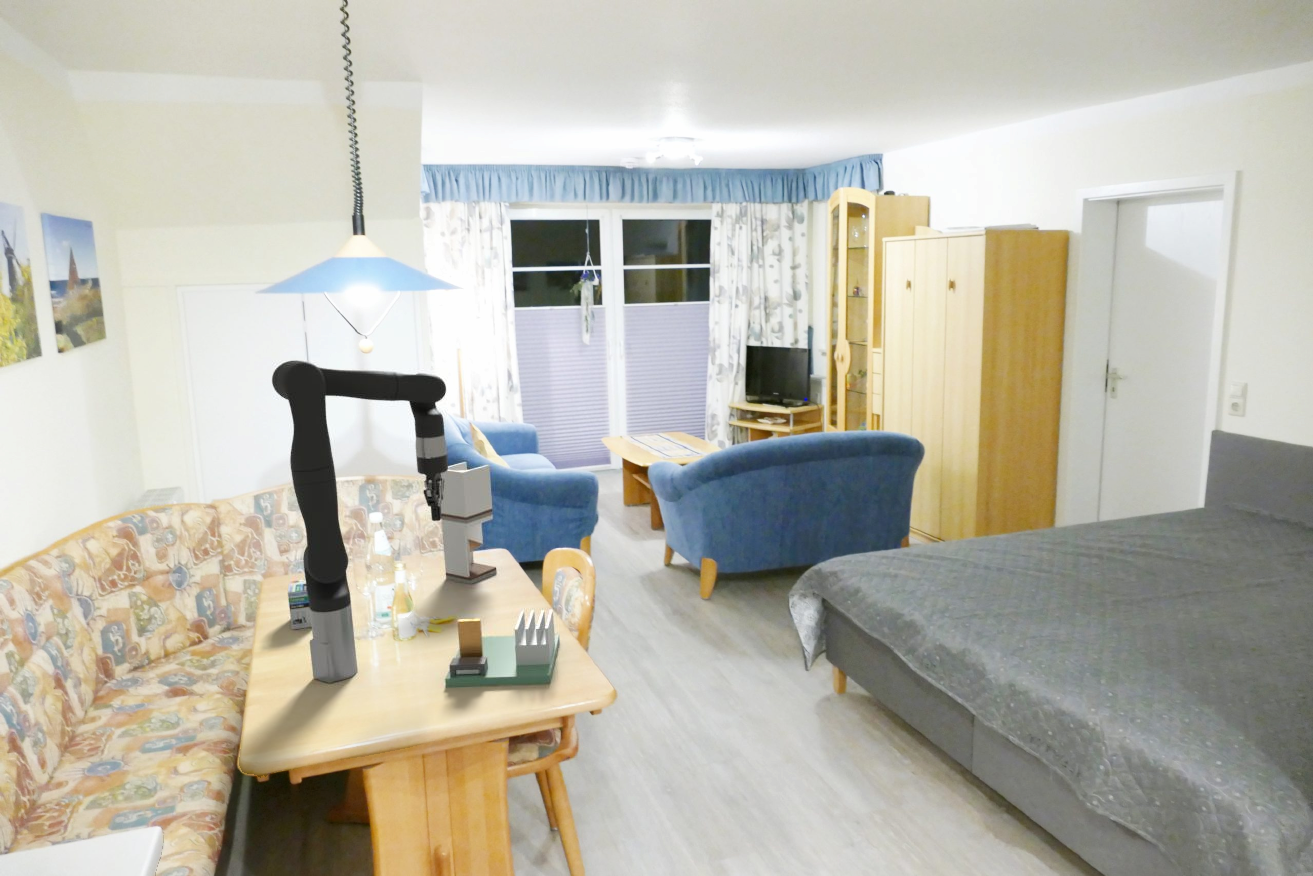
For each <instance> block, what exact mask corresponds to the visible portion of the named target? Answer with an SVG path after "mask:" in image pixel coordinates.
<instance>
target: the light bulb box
mask: <svg viewBox="0 0 1313 876" xmlns="http://www.w3.org/2000/svg"><path fill="white" fill-rule="evenodd" d="M287 598H288V605H289V614H290V615H289V616H290V624H291V630H292V629H293V630H299V629H306V628H312V625H311V615H310V606H309V600H308V595H307V588H306V579H305V578H304V579H296V580H294V579H293V580H289V581H288V588H287Z"/></svg>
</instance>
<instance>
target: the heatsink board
mask: <svg viewBox="0 0 1313 876" xmlns="http://www.w3.org/2000/svg"><path fill="white" fill-rule="evenodd" d="M529 613H530V614H529V617H528V619H527V622H526V620H525V619H526V618H525V610H521V611H520V614H519V616H518V619H517V620H516V621H517V622H516V625H515V628H514V635H499V636H498V635H493V636H482V645H483V657H463V658H460V648H459V650H458V651H457V654H456V656H455V657H452V659H451V661H450V663H449V670H448V673H447V675H446V676H445V678H444V682H445V688H456V687H458V688H459V687H460V688H461V687H483V686H484V687H485V686H487V687H488V686H513V685H514V686H516V685H517V686H518V685H543V684H544V685H545V684H547V685H548V684H551V682H552V676H553V672H554V667H555V663H556V659H557V655H558V649H559V645H560V641H561V640H560V634H559V633H555V623H554V622H555V621H554V609H549V612H548V616H547V620H546V614H545V609H541V610H540V615H539V618H538V621H537V623H536V618H535V617H536V615H535V609H531V611H530V612H529ZM525 622H526V623H525ZM465 669H480V673H479V674H457V671H456V670H465Z"/></svg>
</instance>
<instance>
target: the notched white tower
mask: <svg viewBox="0 0 1313 876" xmlns="http://www.w3.org/2000/svg"><path fill="white" fill-rule="evenodd" d="M467 466H468V465H467V462H466V461H463V462H459V463H456V464H452V465H448V470H447V471H446V472H444V473H441V478H443V479H444V481H445V482H444V491H443V500H441V501H442V504H441V515H442V518H441V529H442V541H443V542H442V544H443V555H444V556H443V557H444V567H445V569H444V571H445V578H446V580H450V581H454V582H459V583H462V584H463V583H464V584H467V585H472V584H475V583H477V582H479V581H483V580H485V579H487V578H489V577H492V576H494V575H497V574H498V572H497V566H491V565H486V564H483V563H477V562H475V561H474V551H475V550H477V549H479V548H481V547H483V546H484V541H483V540H484V539H483V526H482V524H483V523H485V522H488V521H491V520H493V519H494V515H493V513H494V512H493V501H492V500H493V497H492V484H491V483H492V482H491V481H492V480H491V469H490V468H491V467H490V464H485V465H481V466H479V467H474V468H470V469H468V467H467Z"/></svg>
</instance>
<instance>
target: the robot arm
mask: <svg viewBox="0 0 1313 876" xmlns="http://www.w3.org/2000/svg"><path fill="white" fill-rule="evenodd" d="M271 383H272V387H273V389H274V391H275V392H276V393H277V394H278V395H279V396H280V397H281V398H283V399H285V400H287V401H288V404H289V407H290V413H291V416H292V423H293V435H292V442H291V447H290V448H291V449H290V458H289V459H290V461H289V462H290V464H289V465H290V472H291V478H292V485H293V490H294V494H295V497H296V498H295V499H296V501H297V504H298V508H299V511H300V513H301V514H300V515H301V517H302V519H303V523H304V528H305V533H306V534H305V535H306V547H305V549H304V552H303V558H302V559H303V571H304V577H305V578H304V579H306V588H307V595H308V600H309V606H310V615H311V625H312V627H311V632H312V633H311V635H312V638H311V639H310V640H309V649H310V651H309V652H310V658H311V659H310V660H311V667H312V669H311V670H312V678H313V679H315V680H319V681H322V682H324V683H328V684H331V683H333V682H339V681H343V680H347V679H349V678H352V677H353V676H355V674H357V672H358V660H357V651H356V642H355V631H354V630H355V629H354V621H353V611H352V600H351V591H350V589H349V583H348V576H347V575H348V574H347V570H348V566H349V556H348V554H347V550H346V547H345V543H344V539H343V535H342V531H341V526H340V520H339V501H338V498H339V497H338V487H337V477H336V469H335V463H334V458H333V453H332V446H331V439H330V432H329V428H328V422H327V407H326V406H327V404H326V403H327V401H326V397H342V398H343V397H345V398H353V399H360V400H369V401H387V402H390V401H391V402H399V401H401V402H402V401H403V402H404V401H405V402H408V403H409V405H410V410H411V412H412V415H413V419H414V431H415V457H416V458H415V459H416V468H417V470H416V471H417V473H418V474H420V475H425V480H424V488H425V489H423V492H422V493H423V495H424V498H425V501H426V504H427V507H430V513H431V520H432V521H433V522H437V521H438V522H439V521H442V519H441V518H442V515H441V504H442V501H441V500H443V491H444V482H445V481H444V479H443V478H441V473H444V472H446V471H447V470H448V466H449V463H448V462H449V460H448V449H447V439H446V436H445V435H446V434H445V433H446V432H445V422H444V417H443V415H442V413H441V412H440V411H439V410H438V409H437V406H436V405H437V404H436V403H438V402H440V401H441V400H442V399H444V397H445V396H446V392H447V385H446V383H445V382H444V380H443V379H442V378H441V377H440V376H438V375H435V374H429V373H420V372H419V373H416V374H414V373H413V374H409V373H408V374H407V373H403V372H397V371H388V370H387V371H385V370H359V369H358V370H355V369H352V370H351V369H350V370H348V369H334V368H324V367H319V366H317V365H315V364H314V363H312V362H310V361H304V360H289V361H285V362H283V363H281V364H279V366H277V367H276V368H275V370H274V371H273V374H272V377H271Z"/></svg>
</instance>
